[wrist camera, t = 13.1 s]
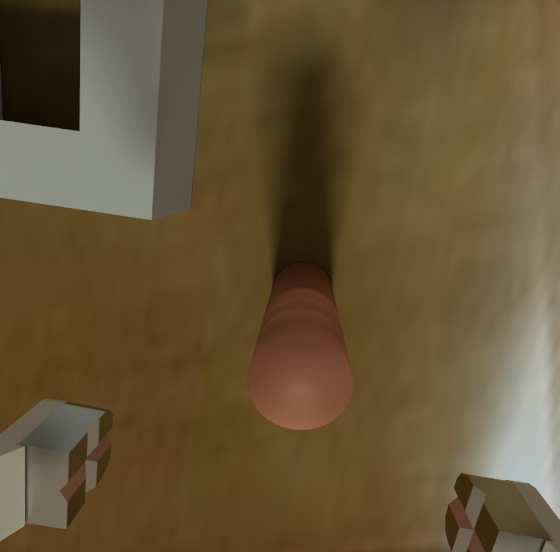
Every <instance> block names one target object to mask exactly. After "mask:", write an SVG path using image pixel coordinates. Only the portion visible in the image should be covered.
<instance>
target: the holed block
mask: <svg viewBox="0 0 560 552" xmlns="http://www.w3.org/2000/svg"><path fill="white" fill-rule="evenodd" d="M206 10H207V0H81V17H80V131H73V130H66V129H59V128H52V127H45V126H38V125H32V124H25V123H18V122H11V121H4V120H3V114H2V89H1V65H0V197H1V198H8V199H14V200H21V201H28V202H34V203H41V204H48V205H54V206H61V207H68V208H75V209H81V210H88V211H95V212H101V213H108V214H115V215H121V216H128V217H135V218H141V219H148V220H153V219H157V218H160V217H164V216H167V215H170V214H174V213H177V212H181V211H184V210H187V209H191V198H192V185H193V173H194V160H195V148H196V135H197V123H198V110H199V98H200V85H201V73H202V60H203V48H204V35H205V23H206Z"/></svg>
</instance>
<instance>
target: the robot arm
mask: <svg viewBox="0 0 560 552" xmlns="http://www.w3.org/2000/svg"><path fill="white" fill-rule="evenodd" d="M112 420H113V414H112V412H111V411H110V410H107V409H102V408H97V407H92V406H87V405H82V404H77V403H72V402H67V401H61V400H56V399H50V398H48V399H43V400H42V401H40V402H39V403H38V404H37V405H36V406H34V407H33V408H32V409H31V410H29V411H28V412H27V413H26V414H25V415H23V416H22V417H21V418H20V419H18V420H17V421H16V422H15V423H14V424H12V425H11V426H10V427H9V428H7V429H6V430H5V431H4V432H3V433H1V434H0V541H1V540H3V539H4V538H6V537H7V536H9V535H10V534H12V533H14V532H15V531H17V530H18V529H20V528H21V527H23V526H24V525H25V523H30V524H37V525H43V526H50V527H56V528H63V529H67V528H68V526H69V525H70V523H71V522H72V520H73V519H74V518H75V516H76V515H77V513H78V512H79V510H80V509H81V508H82V506H83V505H84V503H85V492H87V491H89V490H91V489H93V488H94V487H96V486H97V484H98V483H99V481H100V480H101V478H102V477H103V474H104V472H105V470H106V467H107V465H108V462H109V457H110V453H111V442H110V440H109V439H108V437H107V435H106V434H107V433H108V431H109V430H110V429H111V428H112ZM454 489H455V491H456V493H457V495H458V498H456V499H455V500H454V501H452V502H451V503H450V504H449V505H448V509H447V513H446V516H445V531H446V535H447V540H448V543H449V546H450V549H451V551H452V552H560V520H559V518H558V517H557V516H556V514H555V513H554V512H553V510H552V509H551V508H550V506H549V505H548V504H547V503H546V501H545V500H544V499H543V497H542V496H541V495H540V493H539V492H538V491H537V489H536V488H535V487H533V486H532V485H530V484H529V483H523V482H516V481H509V480H505V481H504V480H498V479H493V478H487V477H481V476H475V475H469V474H463V473H461V474H460V475H459V477H458V478H457V480H456V483H455V486H454Z"/></svg>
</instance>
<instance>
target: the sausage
mask: <svg viewBox="0 0 560 552" xmlns="http://www.w3.org/2000/svg"><path fill="white" fill-rule="evenodd" d="M247 386H248V391H249V395H250V398H251V400H252V402H253V404H254V406H255V407H256V408H257V410H258V411H259V412H260V413H261V414H262V415H263V416H264V417H265V418H267V419H268V420H270V421H271V422H273V423H275V424H277V425H279V426H282V427H285V428H289V429H294V430H308V429H314V428H318V427H321V426H324V425H326V424H328V423H330V422H331V421H333V420H334V419H336V418H337V417H338V416H339V415H340V414H341V413H342V412H343V411H344V410H345V408H346V407H347V405H348V403H349V401H350V399H351V396H352V392H353V375H352V370H351V366H350V362H349V357H348V353H347V349H346V345H345V341H344V336H343V332H342V328H341V324H340V320H339V315H338V311H337V307H336V303H335V299H334V294H333V290H332V286H331V282H330V280H329V278H328V276H327V275H326V274H325V272H324V271H323V270H321V269H320V268H319V267H317V266H315V265H313V264H309V263H295V264H292V265H289V266H287V267H286V268H284V269H283V270H282V271H281V272H280V273H279V274H278V275H277V277H276V279H275V281H274V284H273V287H272V291H271V294H270V298H269V301H268V304H267V308H266V311H265V315H264V318H263V322H262V325H261V329H260V332H259V336H258V339H257V343H256V346H255V350H254V353H253V357H252V360H251V364H250V367H249V371H248V376H247Z"/></svg>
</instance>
